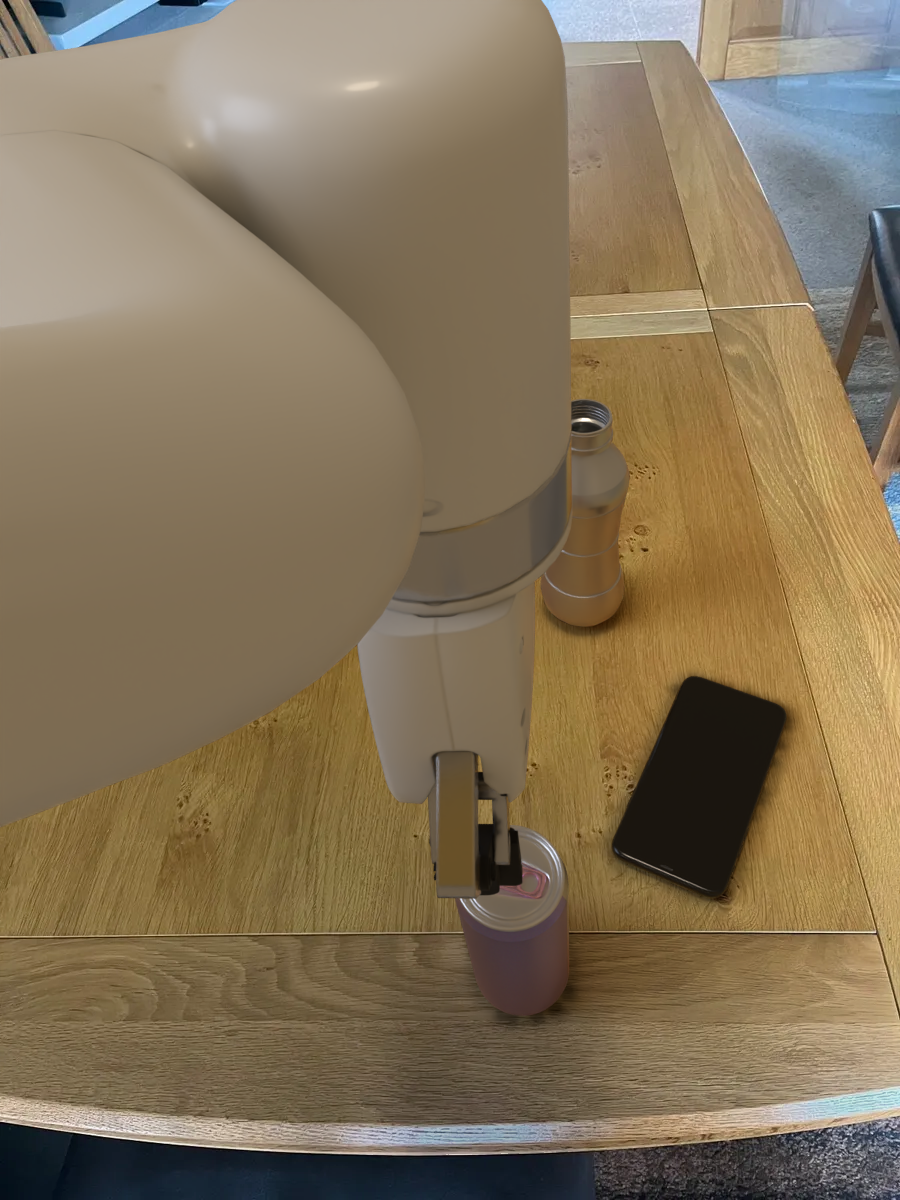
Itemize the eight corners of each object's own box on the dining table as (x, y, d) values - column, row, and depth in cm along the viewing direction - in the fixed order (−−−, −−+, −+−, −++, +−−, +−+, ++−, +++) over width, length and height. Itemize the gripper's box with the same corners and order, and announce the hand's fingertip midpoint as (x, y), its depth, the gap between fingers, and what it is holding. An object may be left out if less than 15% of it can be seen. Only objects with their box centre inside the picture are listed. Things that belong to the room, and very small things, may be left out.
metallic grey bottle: (600, 649, 74) (608, 462, 58) (526, 617, 76) (514, 430, 61) (636, 593, 77) (653, 402, 61) (564, 564, 80) (562, 374, 64)
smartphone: (685, 676, 71) (605, 856, 63) (686, 670, 71) (606, 850, 62) (789, 713, 68) (721, 906, 60) (792, 706, 68) (722, 901, 59)
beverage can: (554, 1033, 57) (549, 950, 45) (461, 1000, 58) (434, 912, 47) (580, 938, 60) (582, 839, 48) (492, 910, 62) (473, 807, 50)
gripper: (347, 308, 32) (415, 609, 46) (255, 750, 22) (379, 975, 35) (566, 295, 31) (570, 606, 45) (581, 748, 21) (581, 980, 34)
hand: (486, 768), depth 40 cm, fingers open, 9 cm apart
